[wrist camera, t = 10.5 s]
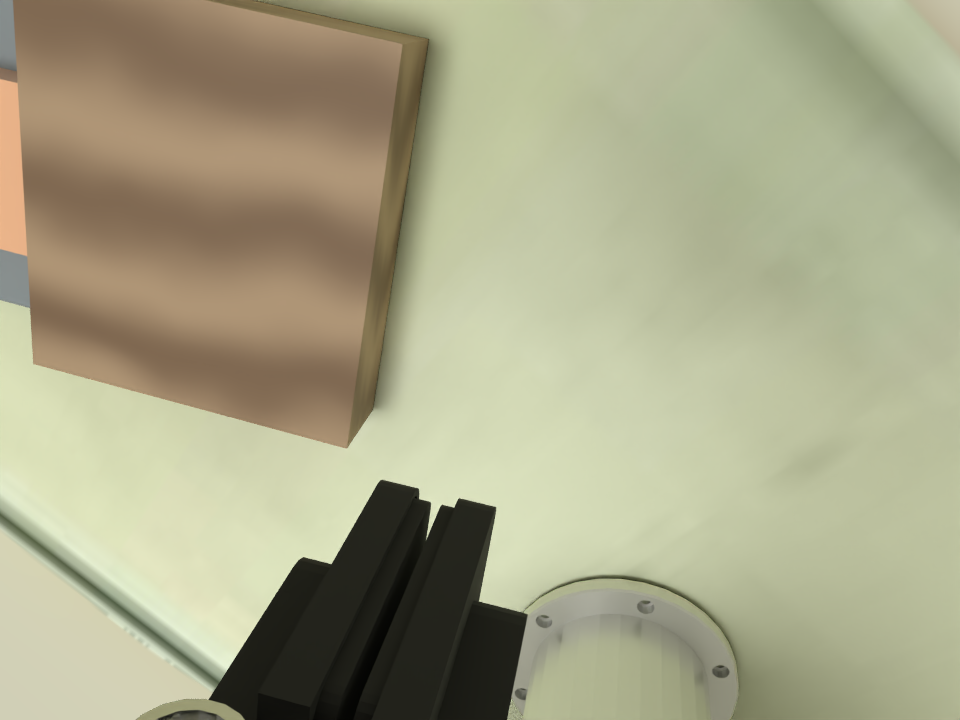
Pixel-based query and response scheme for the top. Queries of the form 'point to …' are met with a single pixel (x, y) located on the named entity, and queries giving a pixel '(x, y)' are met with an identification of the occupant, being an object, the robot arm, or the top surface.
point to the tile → (11, 168)
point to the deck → (215, 201)
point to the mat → (3, 269)
